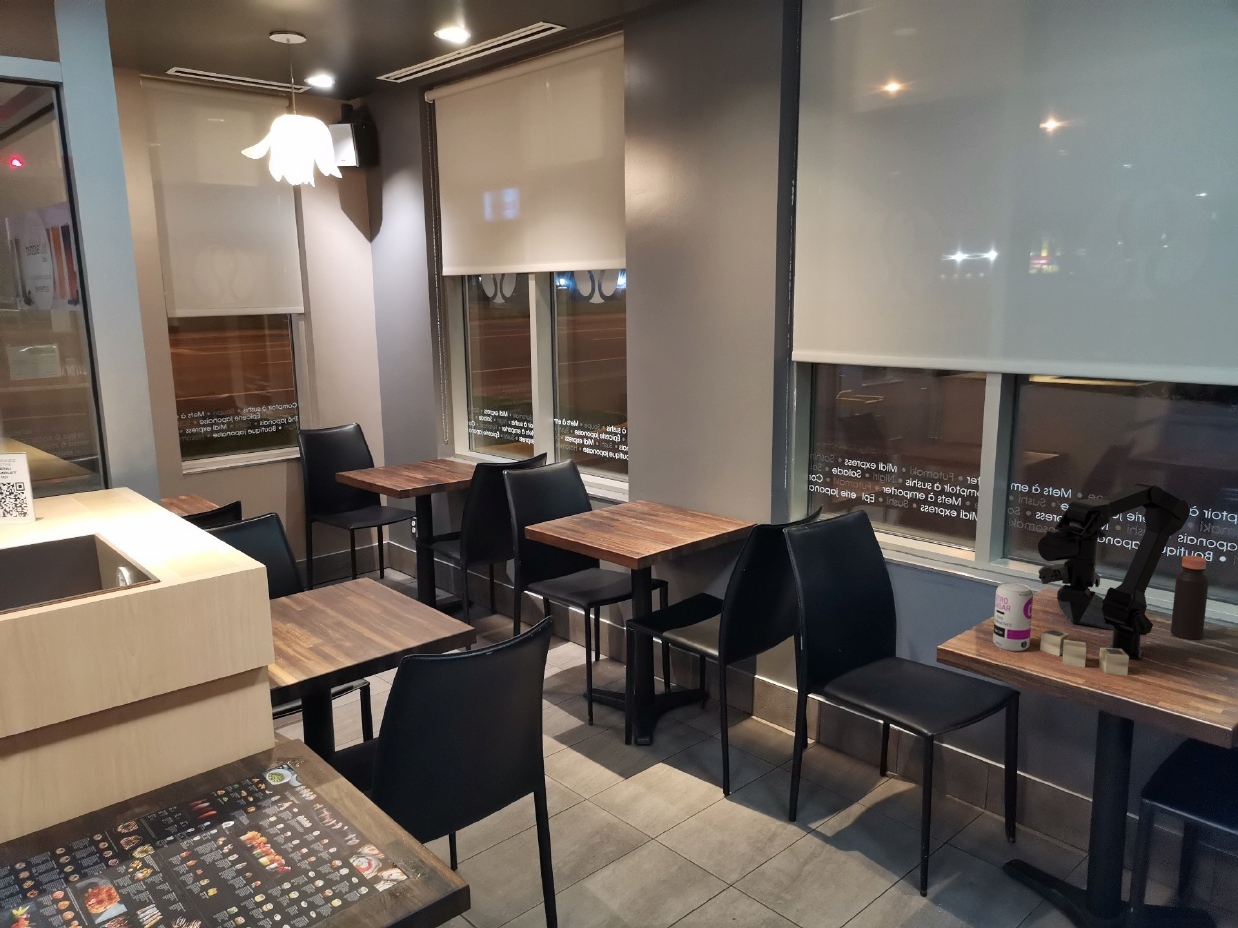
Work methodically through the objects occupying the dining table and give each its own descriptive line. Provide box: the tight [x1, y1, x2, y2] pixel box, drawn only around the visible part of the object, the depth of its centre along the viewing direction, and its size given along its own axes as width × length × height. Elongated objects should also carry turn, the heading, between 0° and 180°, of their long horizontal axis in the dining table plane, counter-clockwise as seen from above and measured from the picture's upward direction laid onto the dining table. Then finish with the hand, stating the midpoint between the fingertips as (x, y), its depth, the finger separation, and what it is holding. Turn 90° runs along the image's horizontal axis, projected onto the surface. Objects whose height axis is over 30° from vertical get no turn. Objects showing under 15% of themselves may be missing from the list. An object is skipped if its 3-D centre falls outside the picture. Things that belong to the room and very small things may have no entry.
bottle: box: [1170, 555, 1210, 640], centre depth 215 cm, size 7×7×20 cm
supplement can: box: [992, 582, 1034, 652], centre depth 210 cm, size 8×8×15 cm
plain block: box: [1062, 639, 1087, 669], centre depth 200 cm, size 4×4×4 cm
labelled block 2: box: [1098, 647, 1130, 676], centre depth 195 cm, size 4×4×5 cm
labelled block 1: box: [1039, 628, 1070, 657], centre depth 207 cm, size 4×4×5 cm
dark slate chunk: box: [1057, 593, 1114, 631], centre depth 231 cm, size 15×22×5 cm
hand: (1076, 622), depth 199 cm, fingers closed
